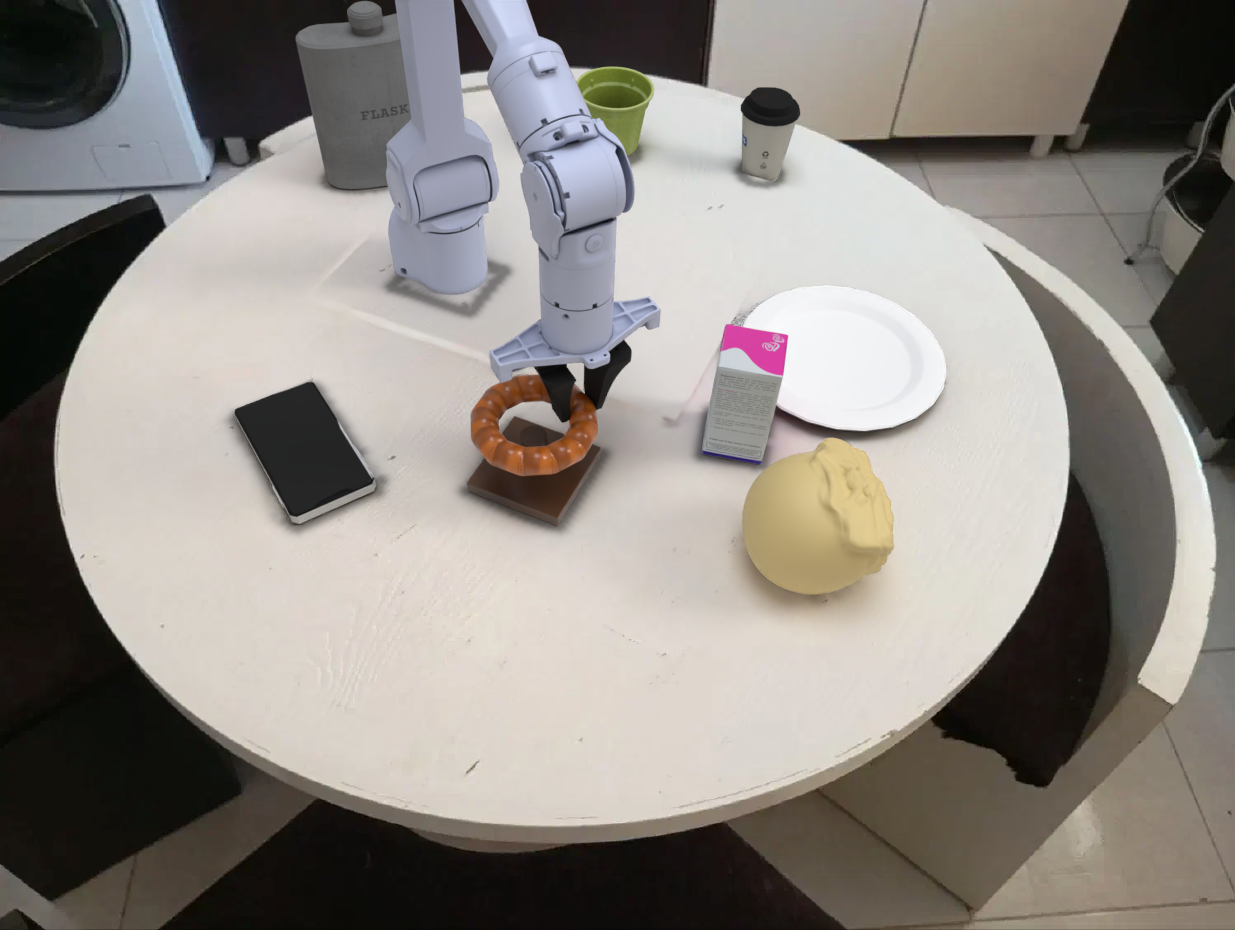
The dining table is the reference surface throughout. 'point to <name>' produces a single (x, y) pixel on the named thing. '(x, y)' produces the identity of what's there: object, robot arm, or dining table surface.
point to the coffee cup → (767, 131)
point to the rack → (533, 477)
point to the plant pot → (618, 101)
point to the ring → (538, 457)
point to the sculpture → (818, 519)
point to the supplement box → (744, 393)
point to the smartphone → (304, 451)
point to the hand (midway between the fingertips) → (576, 408)
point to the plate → (852, 358)
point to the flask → (355, 93)
